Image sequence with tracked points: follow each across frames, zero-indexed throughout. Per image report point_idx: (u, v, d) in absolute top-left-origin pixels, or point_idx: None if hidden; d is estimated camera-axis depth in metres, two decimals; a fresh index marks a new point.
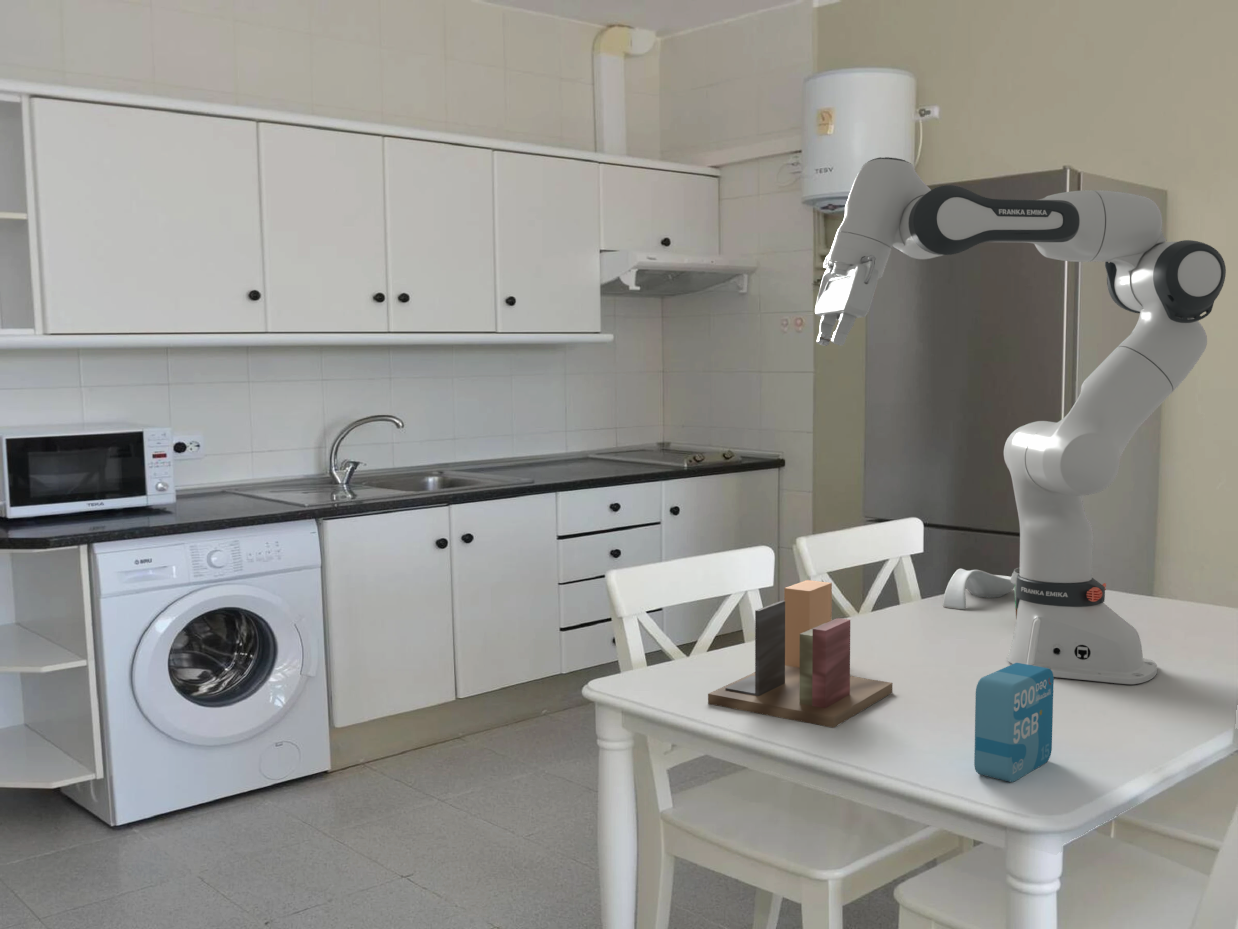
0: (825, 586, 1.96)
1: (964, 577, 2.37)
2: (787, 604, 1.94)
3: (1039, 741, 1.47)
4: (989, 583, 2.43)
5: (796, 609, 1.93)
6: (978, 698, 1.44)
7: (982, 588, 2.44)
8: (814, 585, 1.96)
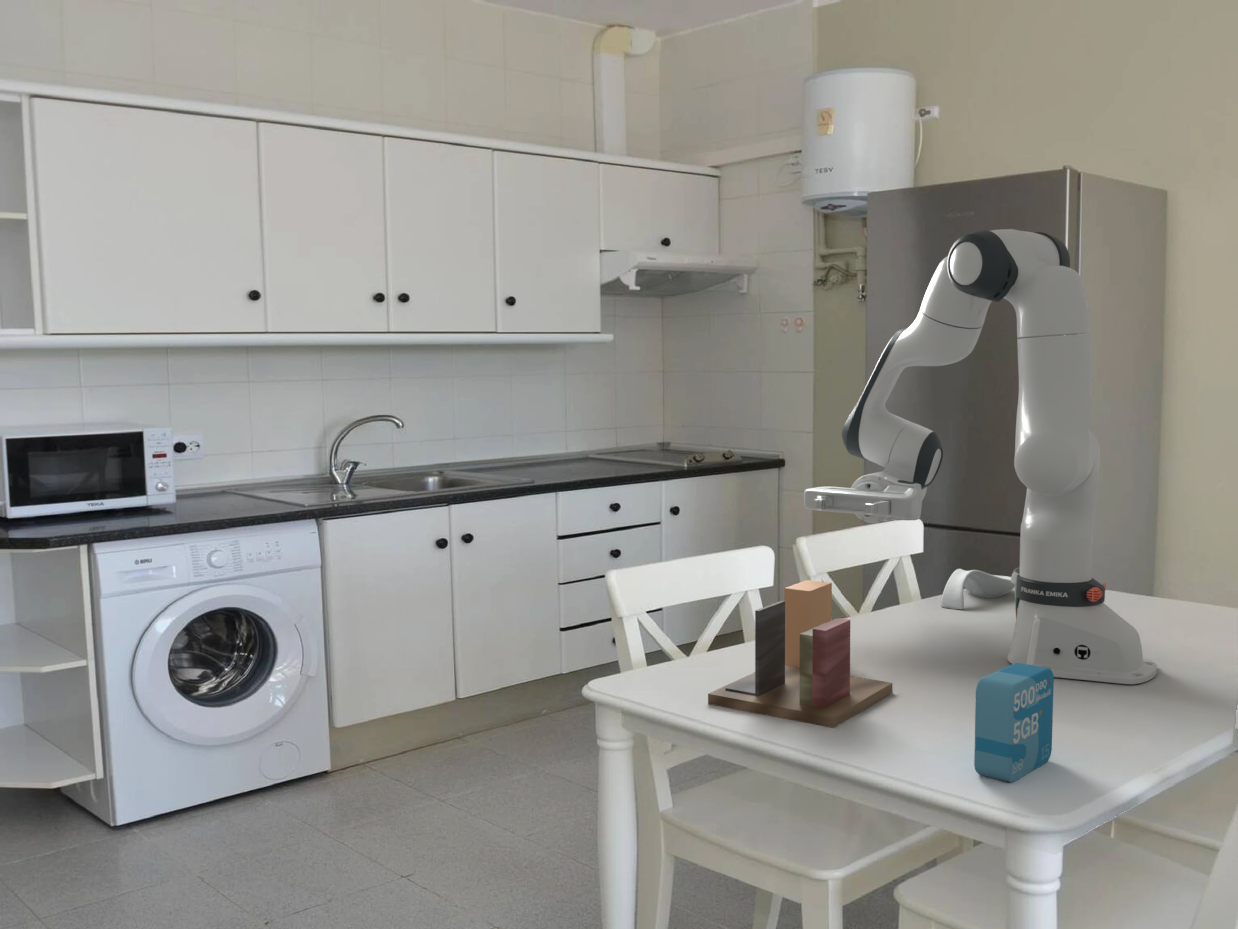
0: (825, 586, 1.96)
1: (962, 577, 2.37)
2: (787, 604, 1.94)
3: (1039, 741, 1.47)
4: (988, 583, 2.43)
5: (796, 609, 1.93)
6: (978, 698, 1.44)
7: (981, 588, 2.44)
8: (814, 585, 1.96)
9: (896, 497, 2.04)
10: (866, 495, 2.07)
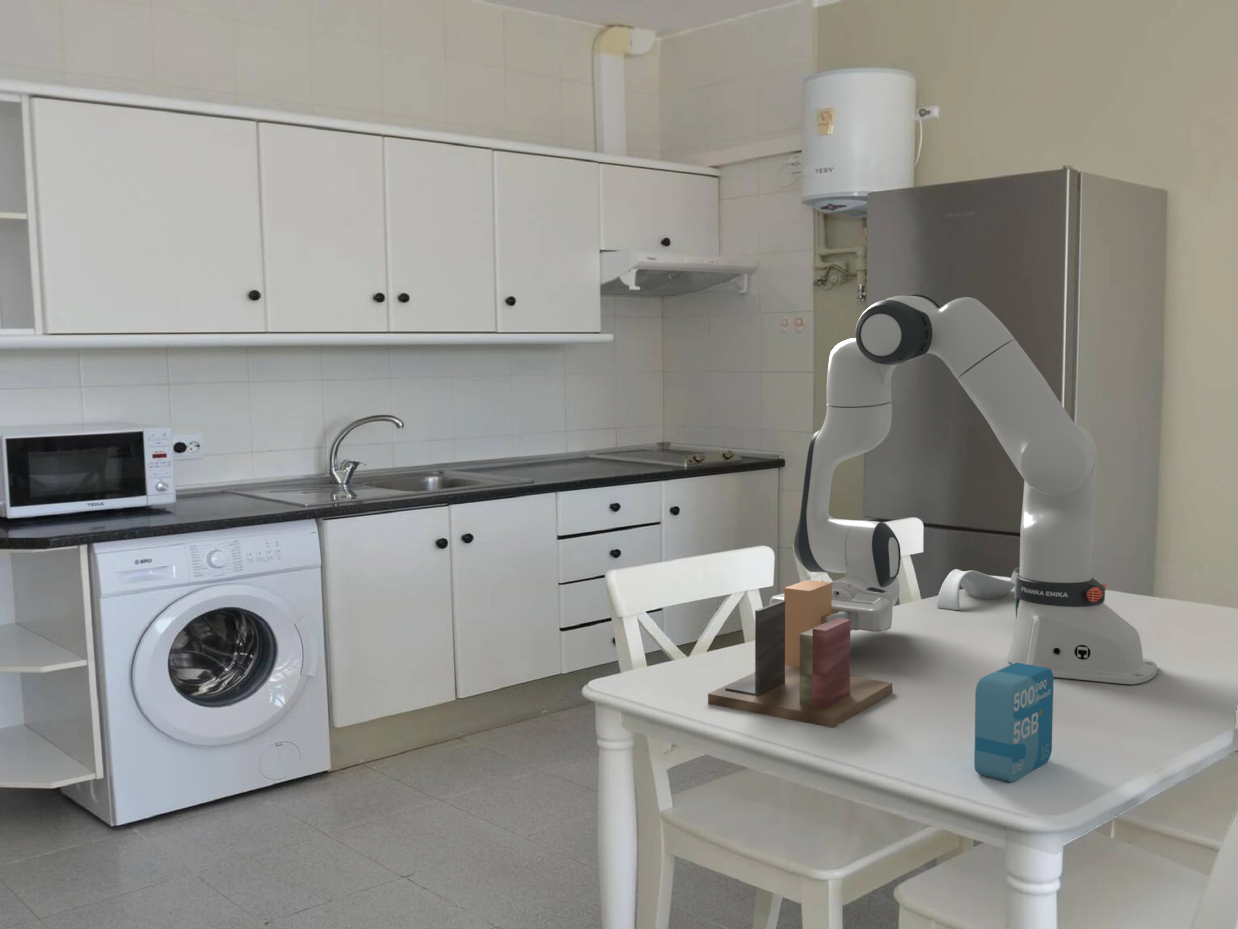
0: (825, 586, 1.96)
1: (958, 577, 2.37)
2: (787, 604, 1.94)
3: (1039, 741, 1.47)
4: (985, 584, 2.42)
5: (796, 609, 1.93)
6: (978, 698, 1.44)
7: (979, 589, 2.43)
8: (814, 585, 1.95)
9: (864, 609, 1.96)
10: (833, 606, 1.99)
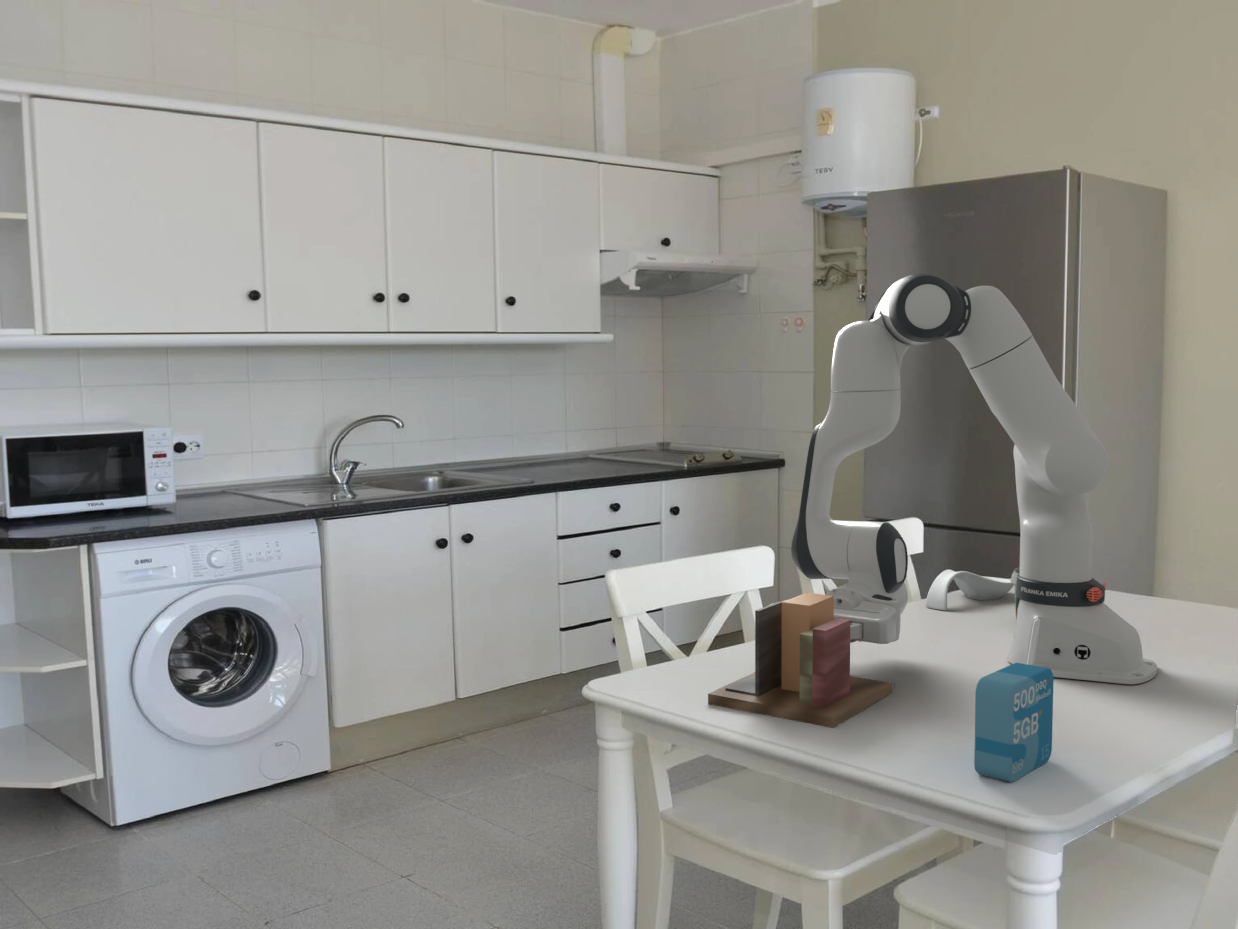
0: (826, 600, 1.78)
1: (948, 578, 2.36)
2: (785, 620, 1.76)
3: (1039, 741, 1.47)
4: (979, 585, 2.41)
5: (795, 625, 1.75)
6: (978, 698, 1.44)
7: (973, 590, 2.43)
8: (814, 599, 1.78)
9: (869, 619, 1.78)
10: (835, 615, 1.81)
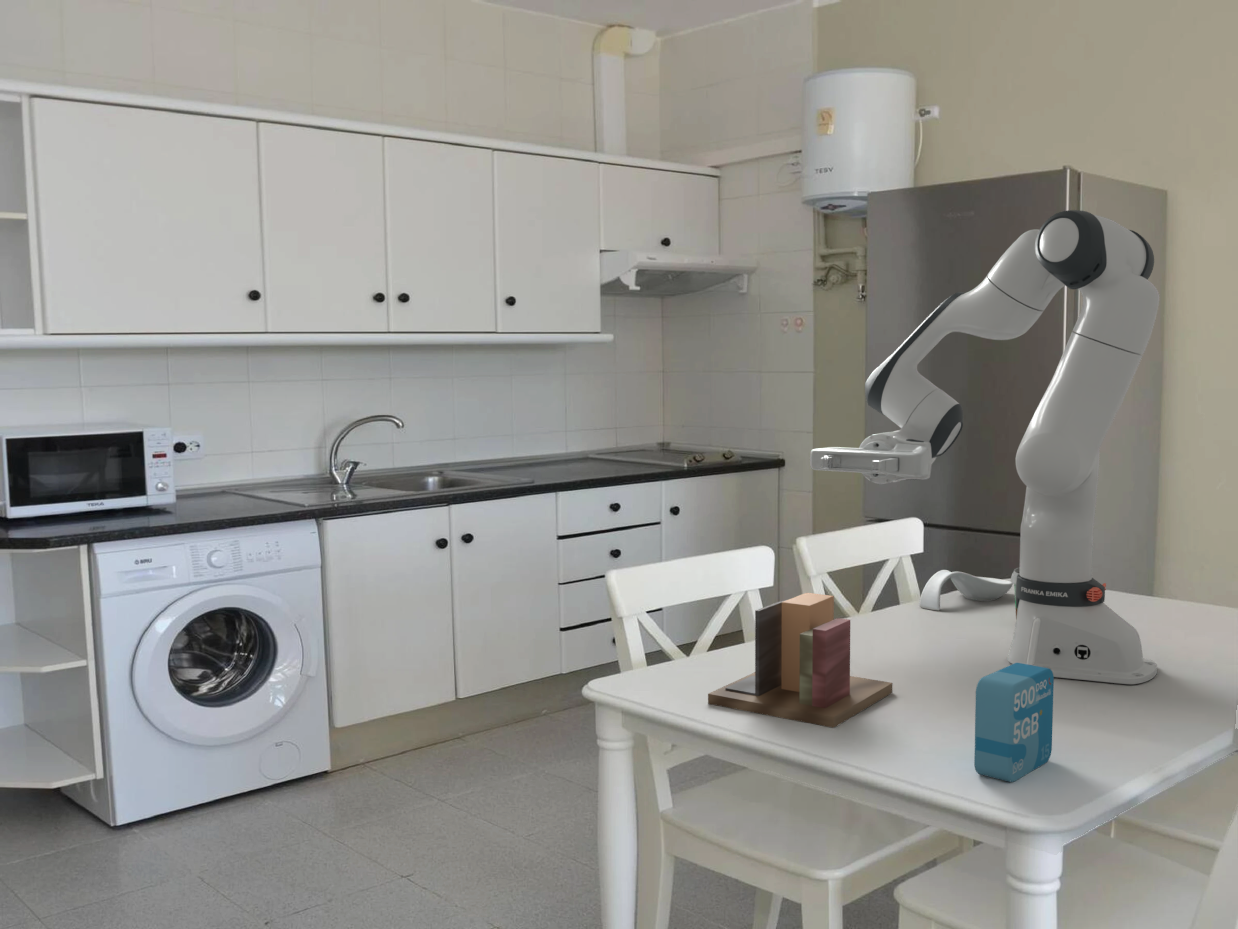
0: (826, 600, 1.78)
1: (942, 578, 2.36)
2: (785, 620, 1.76)
3: (1039, 741, 1.47)
4: (975, 586, 2.40)
5: (795, 625, 1.75)
6: (978, 698, 1.44)
7: (969, 591, 2.42)
8: (814, 599, 1.78)
9: (905, 454, 1.99)
10: (874, 453, 2.02)
